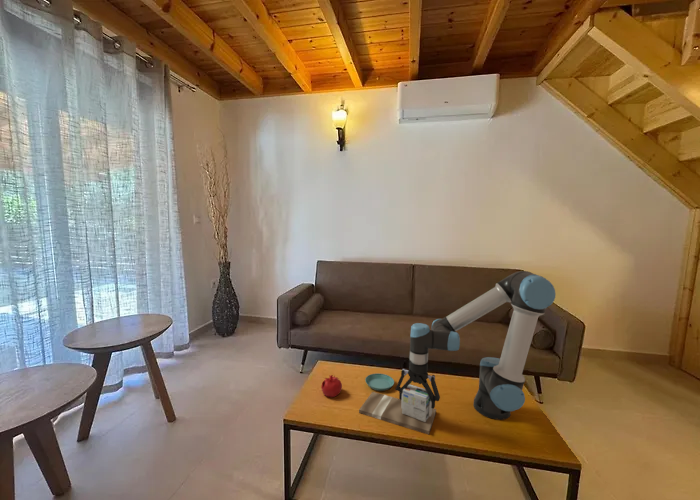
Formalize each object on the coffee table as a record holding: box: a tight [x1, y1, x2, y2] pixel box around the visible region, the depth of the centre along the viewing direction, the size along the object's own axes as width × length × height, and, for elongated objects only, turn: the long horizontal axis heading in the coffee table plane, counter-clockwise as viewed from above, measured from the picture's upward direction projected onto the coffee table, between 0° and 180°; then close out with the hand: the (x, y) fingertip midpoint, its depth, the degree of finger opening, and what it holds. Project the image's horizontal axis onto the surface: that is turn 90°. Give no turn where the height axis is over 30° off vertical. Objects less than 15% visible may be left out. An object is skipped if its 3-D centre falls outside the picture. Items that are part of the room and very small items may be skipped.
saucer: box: [364, 373, 395, 392], centre depth 157 cm, size 15×15×3 cm
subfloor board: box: [358, 391, 437, 436], centre depth 134 cm, size 30×16×2 cm, turn 65°
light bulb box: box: [402, 383, 430, 422], centre depth 130 cm, size 11×7×11 cm, turn 57°
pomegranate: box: [321, 375, 343, 398], centre depth 148 cm, size 10×10×9 cm
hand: (416, 410), depth 131 cm, fingers closed on light bulb box, 11 cm apart
